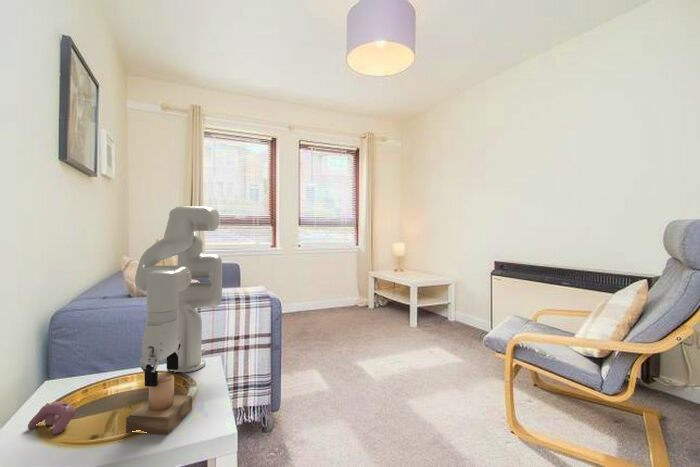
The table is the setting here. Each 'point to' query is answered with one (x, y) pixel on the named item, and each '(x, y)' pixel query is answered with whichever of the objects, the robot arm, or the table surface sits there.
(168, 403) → the canister
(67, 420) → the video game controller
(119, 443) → the table surface
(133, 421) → the walnut block
